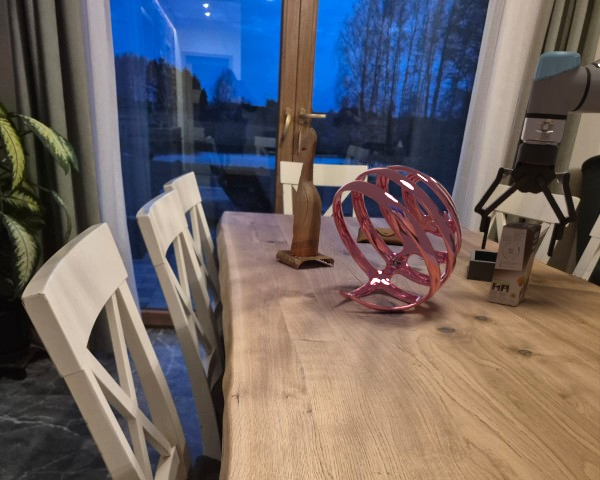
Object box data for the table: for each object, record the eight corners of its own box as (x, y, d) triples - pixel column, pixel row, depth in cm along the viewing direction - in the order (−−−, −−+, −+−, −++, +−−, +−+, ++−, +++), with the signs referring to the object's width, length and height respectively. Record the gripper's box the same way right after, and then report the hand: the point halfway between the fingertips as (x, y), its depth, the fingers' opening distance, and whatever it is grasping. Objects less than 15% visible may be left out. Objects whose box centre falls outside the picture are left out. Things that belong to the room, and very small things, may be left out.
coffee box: (517, 307, 122) (534, 230, 115) (486, 301, 125) (502, 225, 118) (525, 297, 129) (542, 224, 122) (497, 292, 132) (512, 220, 125)
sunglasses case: (356, 241, 177) (358, 220, 178) (356, 249, 184) (358, 228, 185) (415, 245, 176) (417, 224, 176) (412, 253, 183) (414, 233, 183)
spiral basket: (330, 217, 94) (445, 120, 98) (273, 229, 119) (367, 151, 124) (414, 346, 105) (514, 254, 109) (345, 332, 130) (429, 258, 135)
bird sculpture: (309, 257, 156) (316, 127, 142) (335, 266, 148) (346, 129, 134) (274, 260, 151) (278, 125, 136) (299, 270, 142) (306, 127, 128)
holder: (514, 271, 153) (518, 253, 151) (517, 284, 140) (521, 265, 138) (468, 266, 156) (471, 249, 154) (466, 278, 143) (470, 260, 141)
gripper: (474, 139, 113) (455, 248, 122) (611, 148, 107) (580, 262, 117) (475, 138, 119) (457, 242, 129) (604, 147, 114) (575, 255, 123)
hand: (515, 252), depth 123 cm, fingers open, 13 cm apart
